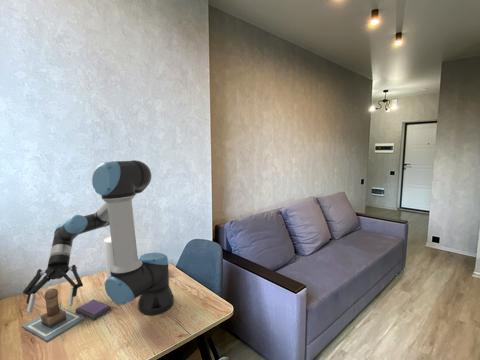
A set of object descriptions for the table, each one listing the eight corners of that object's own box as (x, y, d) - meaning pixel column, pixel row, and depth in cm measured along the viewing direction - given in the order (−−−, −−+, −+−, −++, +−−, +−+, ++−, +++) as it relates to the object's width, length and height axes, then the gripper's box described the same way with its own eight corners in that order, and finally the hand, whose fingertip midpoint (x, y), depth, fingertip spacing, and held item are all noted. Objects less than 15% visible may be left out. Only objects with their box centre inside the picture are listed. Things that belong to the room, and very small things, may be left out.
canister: (100, 276, 142) (97, 241, 140) (117, 265, 155) (115, 233, 153) (121, 279, 139) (119, 243, 137) (137, 267, 152) (135, 235, 150)
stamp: (66, 319, 105) (63, 287, 104) (50, 328, 100) (46, 294, 99) (57, 315, 108) (54, 283, 107) (41, 323, 103) (38, 291, 101)
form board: (85, 319, 106) (85, 317, 106) (47, 342, 94) (47, 340, 94) (59, 307, 114) (59, 306, 114) (21, 327, 102) (21, 325, 102)
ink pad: (111, 309, 112) (110, 305, 112) (93, 320, 105) (93, 316, 105) (93, 302, 118) (93, 298, 118) (75, 312, 111) (75, 308, 110)
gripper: (93, 256, 120) (88, 305, 108) (29, 264, 112) (15, 317, 100) (90, 249, 114) (84, 300, 102) (22, 257, 107) (6, 313, 94)
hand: (50, 309), depth 101 cm, fingers open, 13 cm apart
